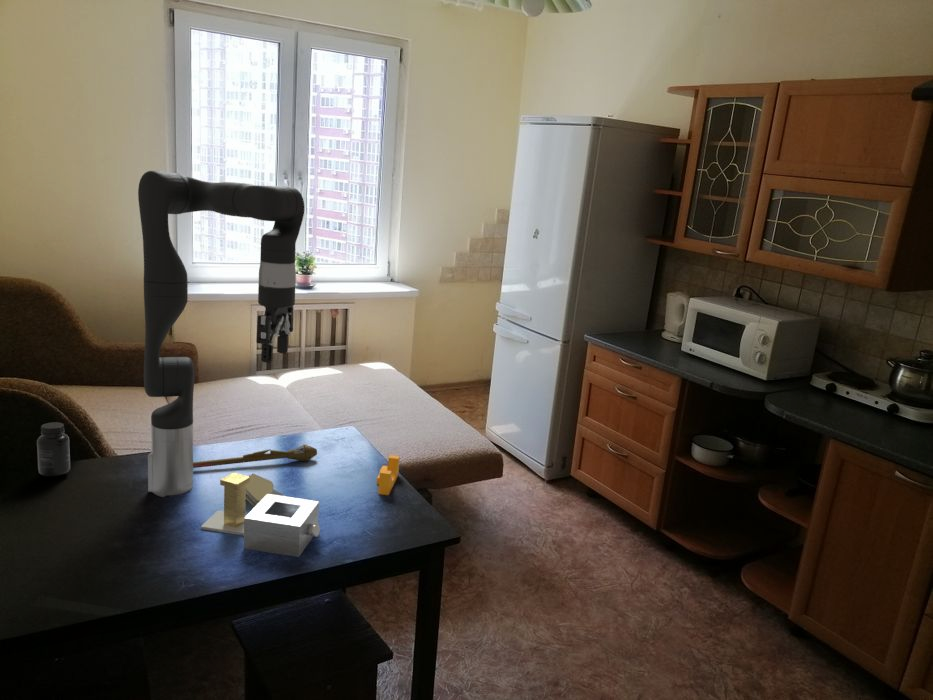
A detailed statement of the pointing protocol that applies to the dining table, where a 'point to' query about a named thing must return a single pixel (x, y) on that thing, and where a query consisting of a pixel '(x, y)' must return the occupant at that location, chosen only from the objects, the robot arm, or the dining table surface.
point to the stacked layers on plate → (259, 489)
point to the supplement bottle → (53, 450)
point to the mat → (222, 524)
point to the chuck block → (281, 525)
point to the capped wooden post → (234, 498)
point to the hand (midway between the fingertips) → (274, 357)
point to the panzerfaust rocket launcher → (264, 456)
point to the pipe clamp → (388, 475)
